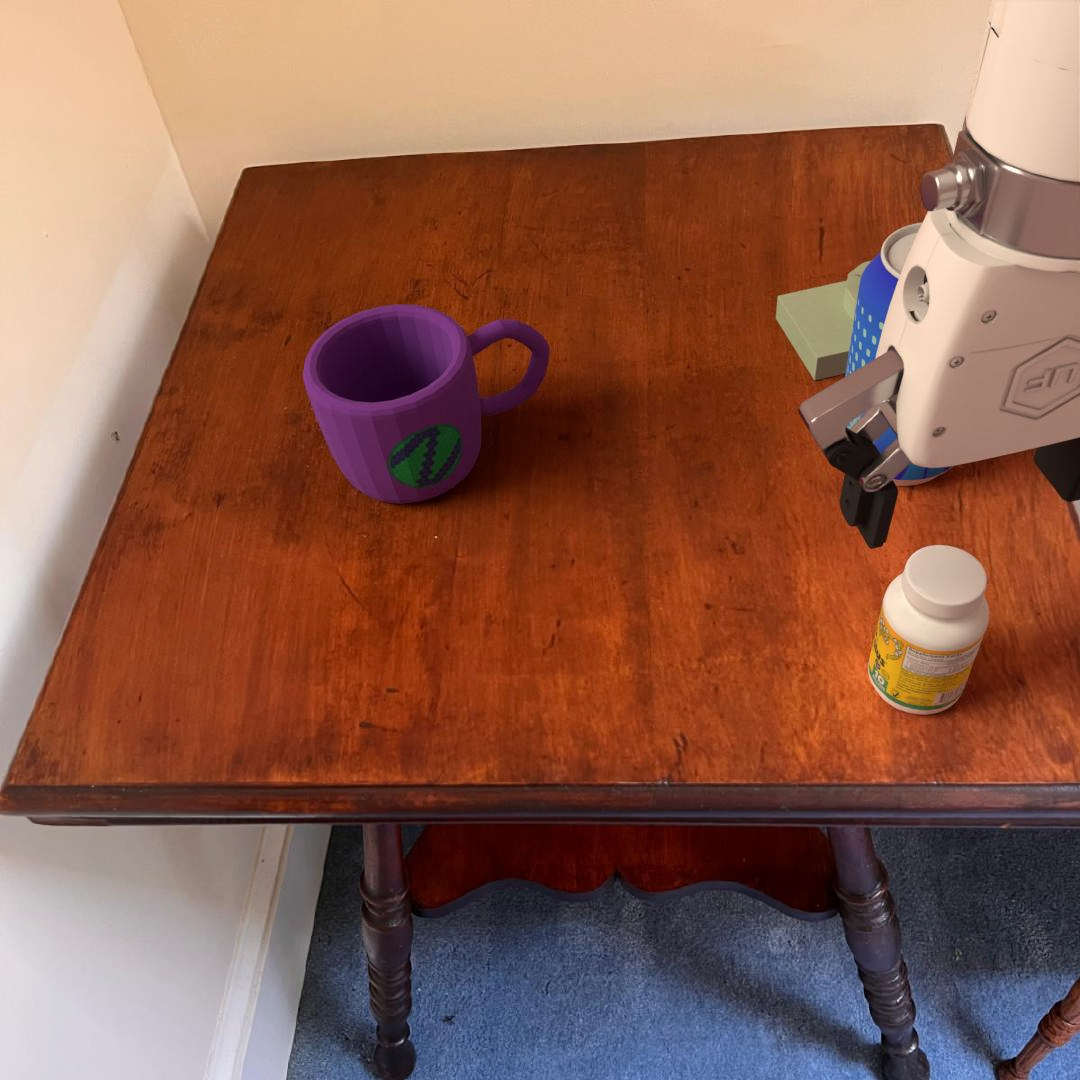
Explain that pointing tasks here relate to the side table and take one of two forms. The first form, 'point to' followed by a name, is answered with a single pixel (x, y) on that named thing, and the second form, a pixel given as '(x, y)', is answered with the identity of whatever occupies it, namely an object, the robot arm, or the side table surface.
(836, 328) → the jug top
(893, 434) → the beer can
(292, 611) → the side table surface
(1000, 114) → the robot arm
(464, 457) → the mug
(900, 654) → the supplement bottle
